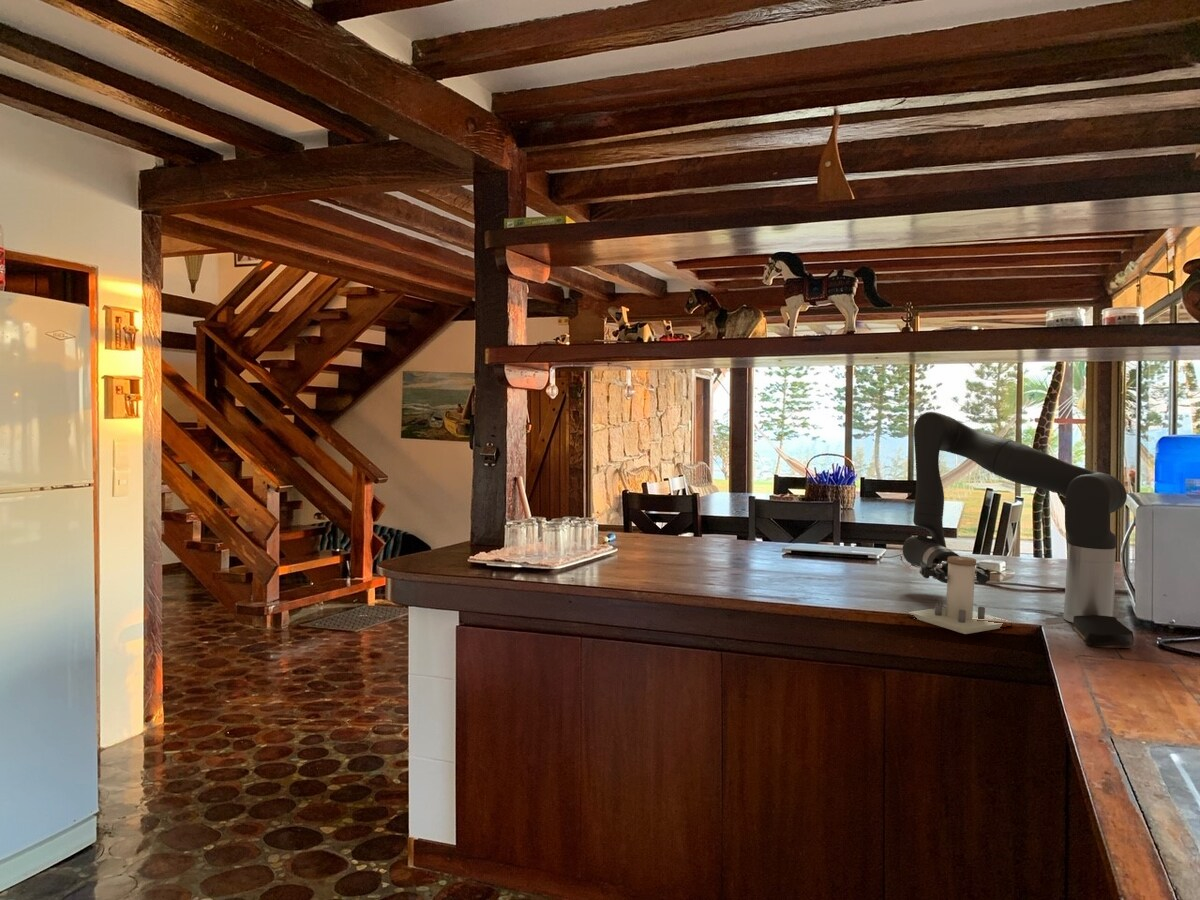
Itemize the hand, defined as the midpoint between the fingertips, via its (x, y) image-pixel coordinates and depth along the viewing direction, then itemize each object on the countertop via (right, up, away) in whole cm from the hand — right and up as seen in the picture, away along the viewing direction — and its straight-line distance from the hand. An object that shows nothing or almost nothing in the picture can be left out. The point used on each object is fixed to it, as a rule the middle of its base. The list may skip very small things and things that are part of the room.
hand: (963, 578), depth 181 cm
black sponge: (+25, -12, -9) cm, 29 cm away
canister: (0, -9, +2) cm, 9 cm away
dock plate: (0, -10, +2) cm, 10 cm away
